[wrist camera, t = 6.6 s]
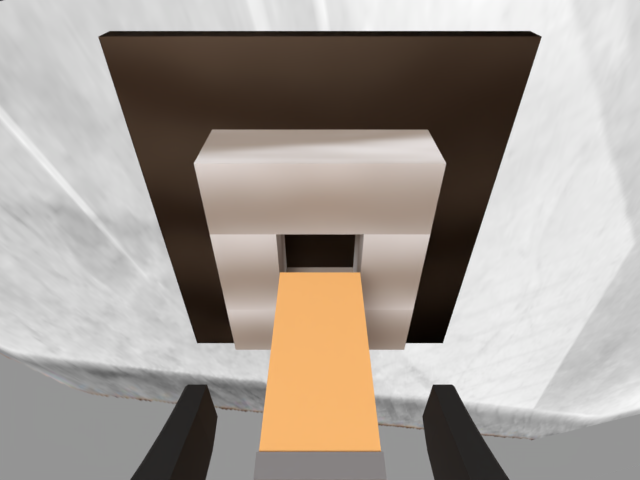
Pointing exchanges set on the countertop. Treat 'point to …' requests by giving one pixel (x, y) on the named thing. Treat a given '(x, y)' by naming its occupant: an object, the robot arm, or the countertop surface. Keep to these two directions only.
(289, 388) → the plug
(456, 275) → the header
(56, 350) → the countertop surface
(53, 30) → the countertop surface
